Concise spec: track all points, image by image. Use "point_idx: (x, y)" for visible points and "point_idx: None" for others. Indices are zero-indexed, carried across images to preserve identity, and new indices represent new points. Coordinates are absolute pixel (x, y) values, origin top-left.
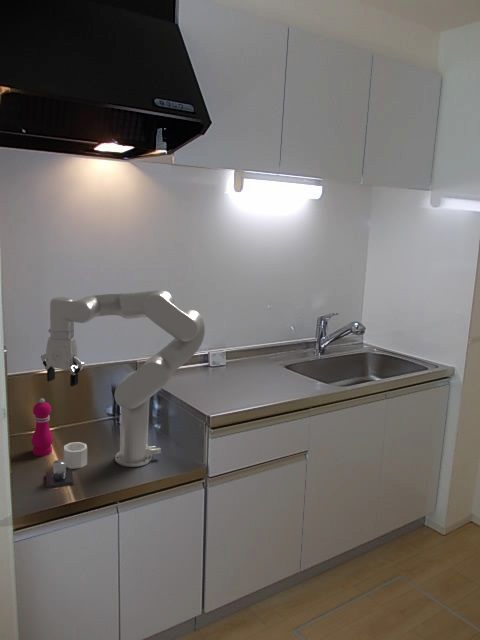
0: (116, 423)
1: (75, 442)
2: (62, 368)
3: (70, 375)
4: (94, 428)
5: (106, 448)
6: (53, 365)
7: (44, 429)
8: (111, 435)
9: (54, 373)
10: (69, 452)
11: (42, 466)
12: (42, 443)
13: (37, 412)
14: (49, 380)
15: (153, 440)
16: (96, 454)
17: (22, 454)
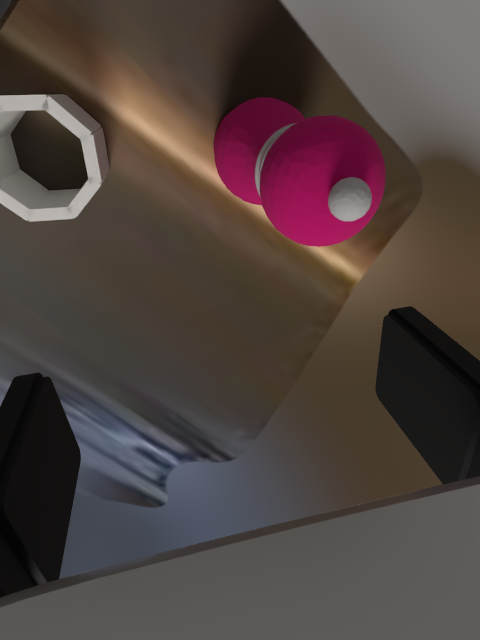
0: (210, 452)
1: (85, 202)
2: (94, 577)
3: (1, 503)
4: (240, 393)
5: (80, 320)
6: (438, 532)
7: (252, 149)
8: (153, 393)
9: (413, 439)
10: (8, 95)
11: (143, 30)
12: (230, 116)
13: (310, 119)
14: (388, 322)
15: None
16: (63, 263)
17: (305, 75)
